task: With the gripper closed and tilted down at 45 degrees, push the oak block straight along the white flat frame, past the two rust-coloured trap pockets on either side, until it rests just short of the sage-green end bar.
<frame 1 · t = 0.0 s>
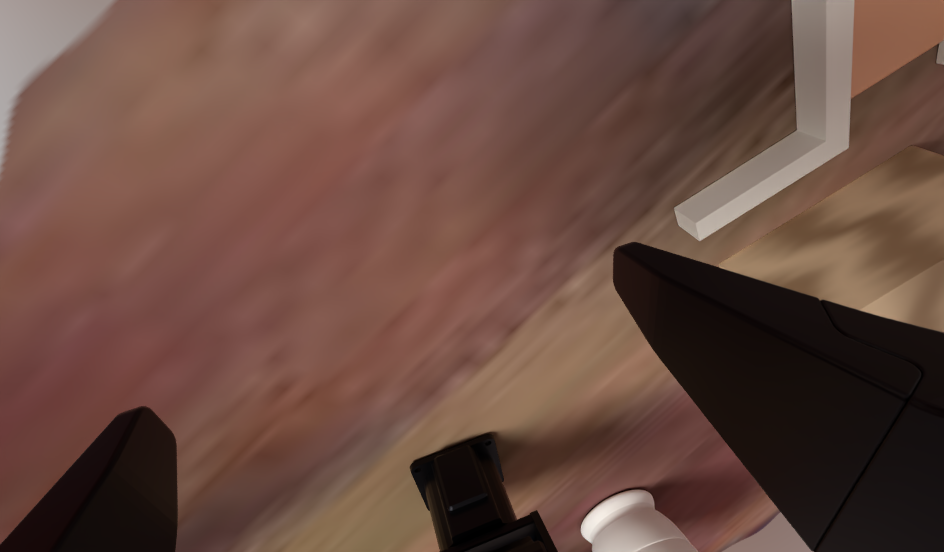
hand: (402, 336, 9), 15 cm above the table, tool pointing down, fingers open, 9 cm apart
jar: (614, 510, 51), on the table
oak block: (812, 248, 36), on the table
white flat frame: (796, 261, 36), on the table
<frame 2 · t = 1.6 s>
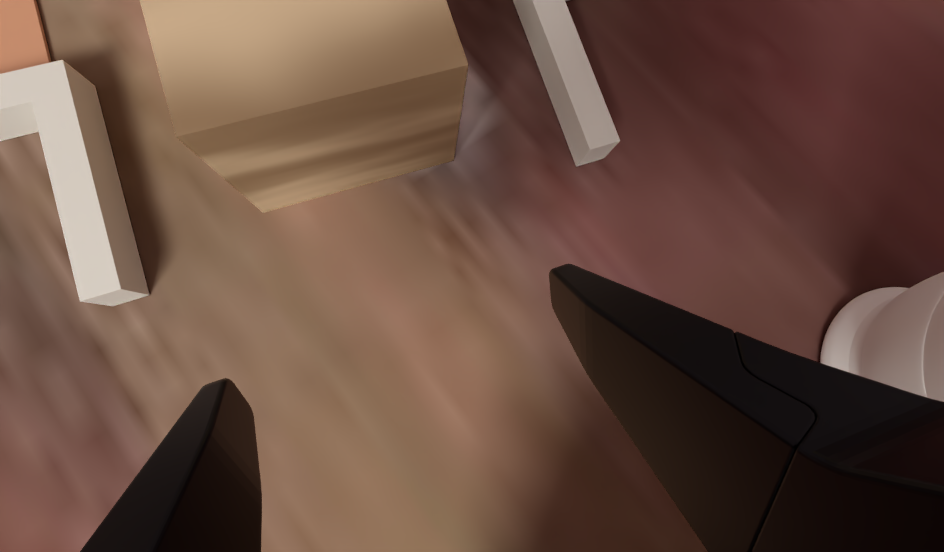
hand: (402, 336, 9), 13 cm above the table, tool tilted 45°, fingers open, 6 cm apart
jar: (891, 373, 24), on the table
oak block: (317, 44, 24), on the table
white flat frame: (326, 70, 23), on the table
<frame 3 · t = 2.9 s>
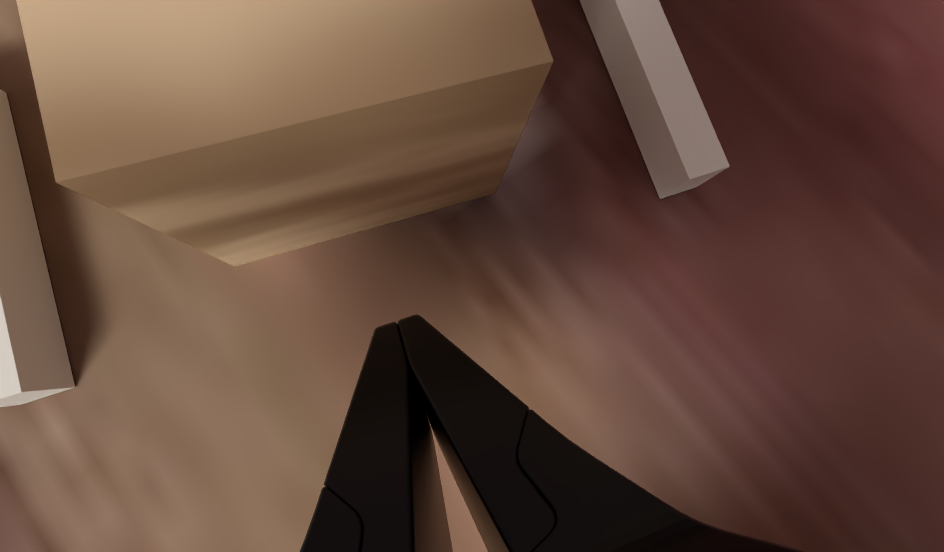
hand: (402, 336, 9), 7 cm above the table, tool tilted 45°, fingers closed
oak block: (312, 36, 18), on the table
white flat frame: (323, 71, 17), on the table
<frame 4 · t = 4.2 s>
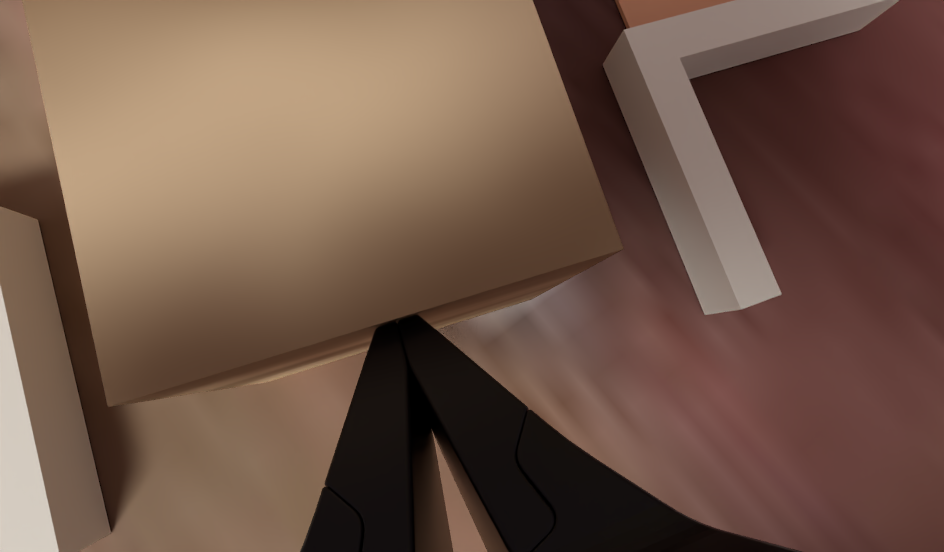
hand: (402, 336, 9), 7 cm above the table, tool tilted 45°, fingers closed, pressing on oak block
oak block: (343, 134, 17), on the table, touching gripper
white flat frame: (360, 187, 17), on the table
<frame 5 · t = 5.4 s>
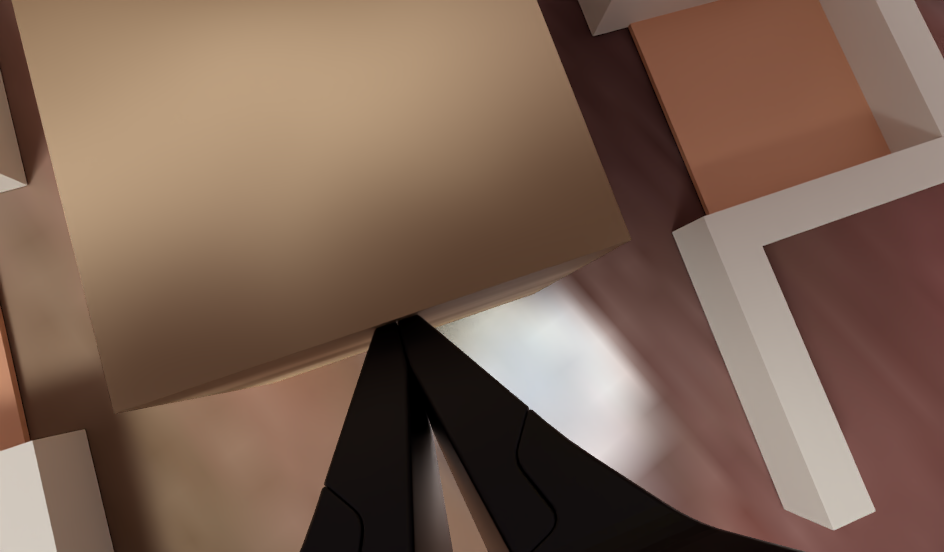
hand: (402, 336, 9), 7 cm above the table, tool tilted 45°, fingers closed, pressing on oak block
oak block: (341, 132, 17), on the table, touching gripper
white flat frame: (423, 380, 16), on the table
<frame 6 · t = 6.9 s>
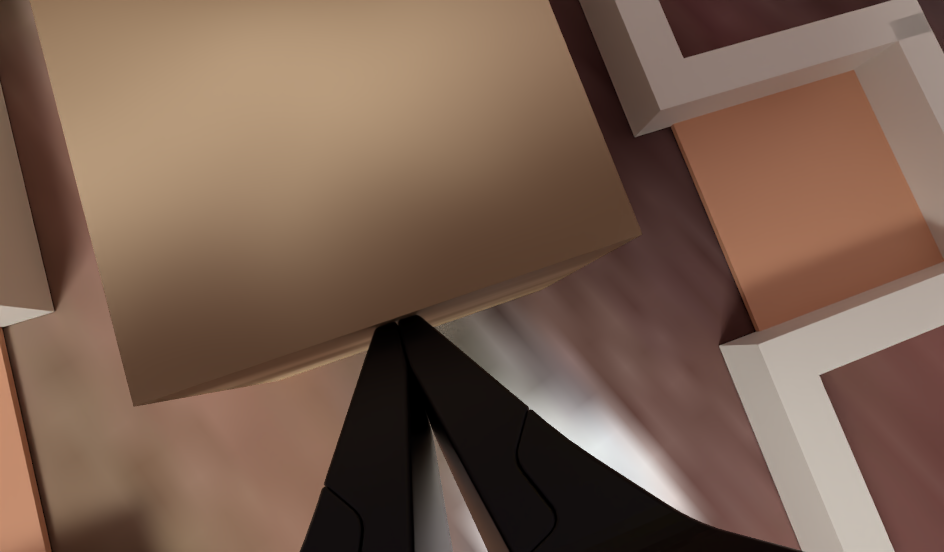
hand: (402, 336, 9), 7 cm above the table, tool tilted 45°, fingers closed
oak block: (347, 130, 17), on the table
white flat frame: (466, 512, 15), on the table
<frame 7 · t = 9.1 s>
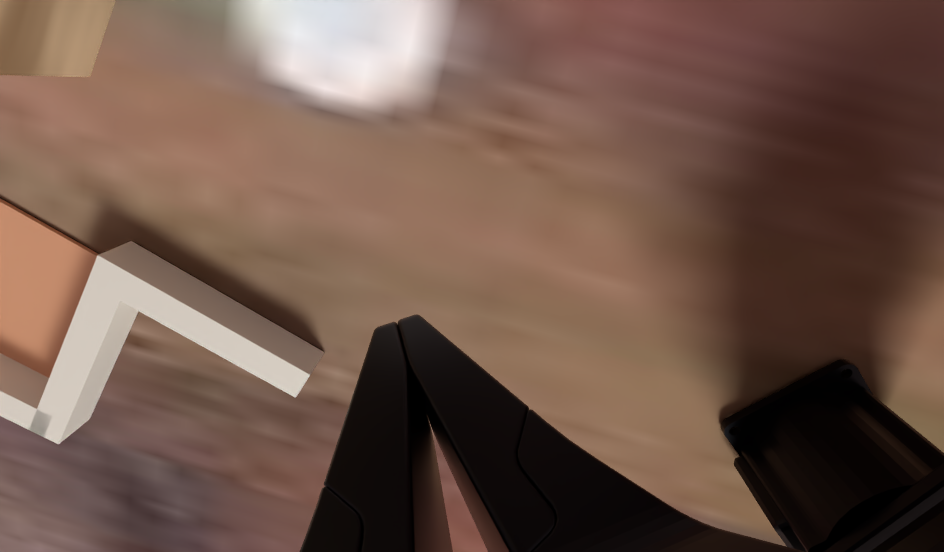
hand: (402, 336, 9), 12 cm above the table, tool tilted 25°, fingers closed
white flat frame: (262, 68, 19), on the table
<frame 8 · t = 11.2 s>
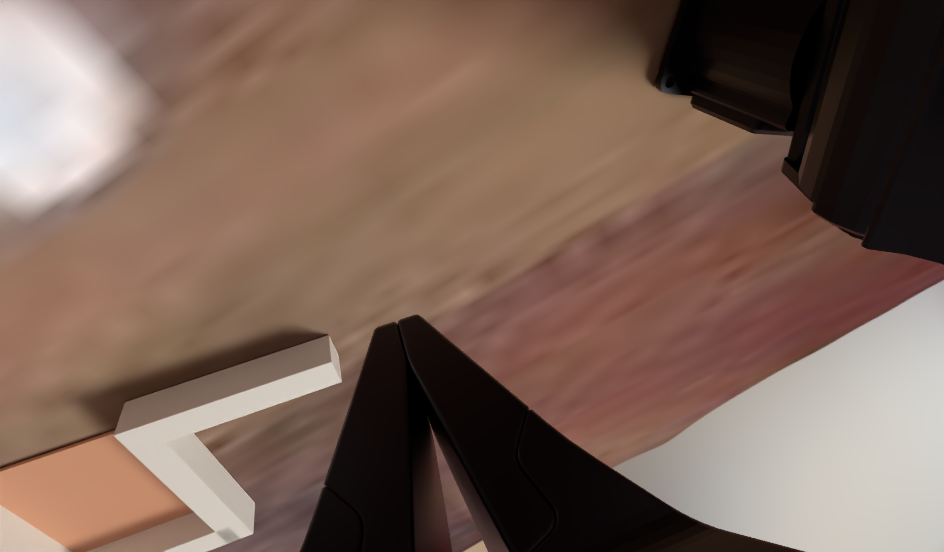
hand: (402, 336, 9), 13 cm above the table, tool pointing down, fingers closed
white flat frame: (18, 212, 18), on the table
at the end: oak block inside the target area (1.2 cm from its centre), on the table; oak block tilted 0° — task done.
